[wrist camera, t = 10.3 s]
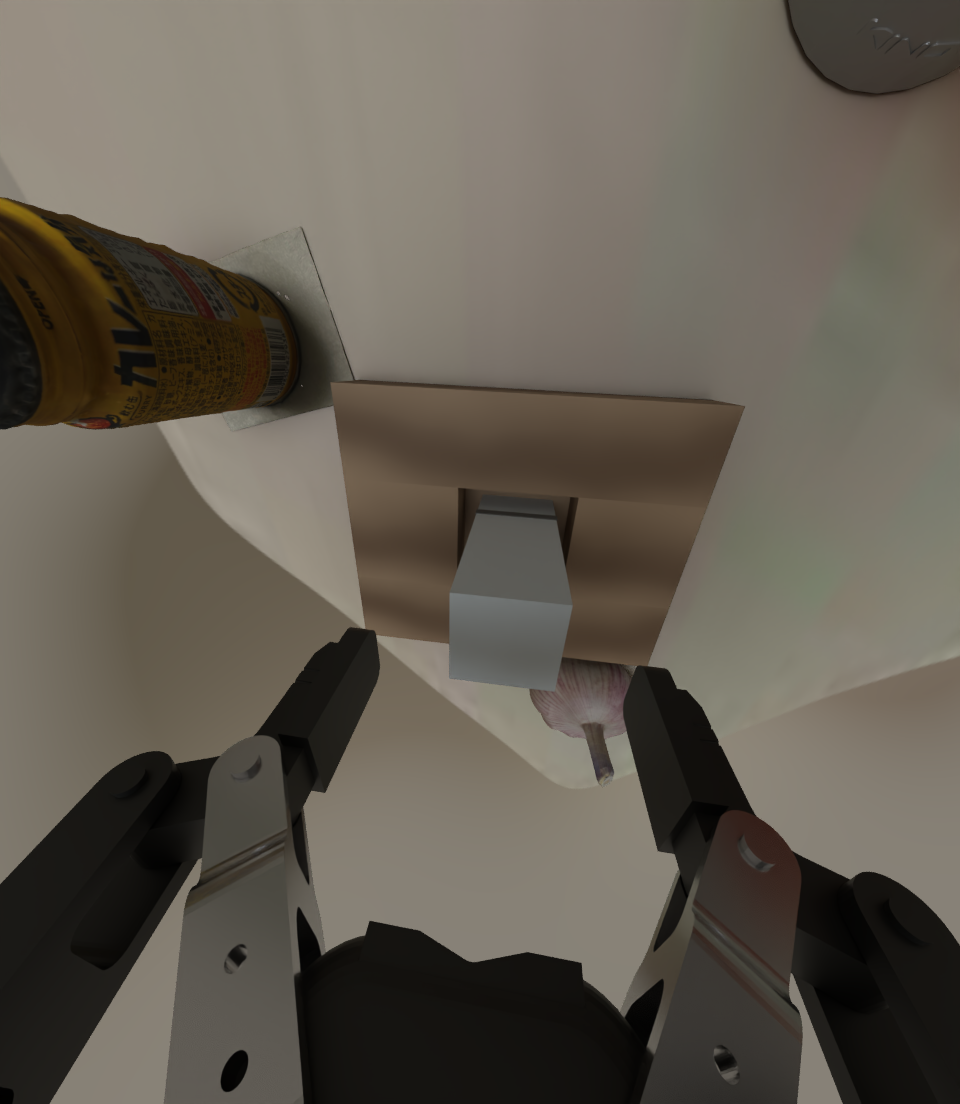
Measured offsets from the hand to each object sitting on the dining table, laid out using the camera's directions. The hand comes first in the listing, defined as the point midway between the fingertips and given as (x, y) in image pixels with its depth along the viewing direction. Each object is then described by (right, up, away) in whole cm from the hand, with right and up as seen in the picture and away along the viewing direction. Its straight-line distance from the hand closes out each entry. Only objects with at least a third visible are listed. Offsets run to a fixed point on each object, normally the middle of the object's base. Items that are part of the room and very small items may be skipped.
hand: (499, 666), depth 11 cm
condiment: (-12, +15, +8) cm, 20 cm away
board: (+1, +5, +11) cm, 12 cm away
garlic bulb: (+7, -6, +16) cm, 18 cm away
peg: (+1, +5, +10) cm, 11 cm away
